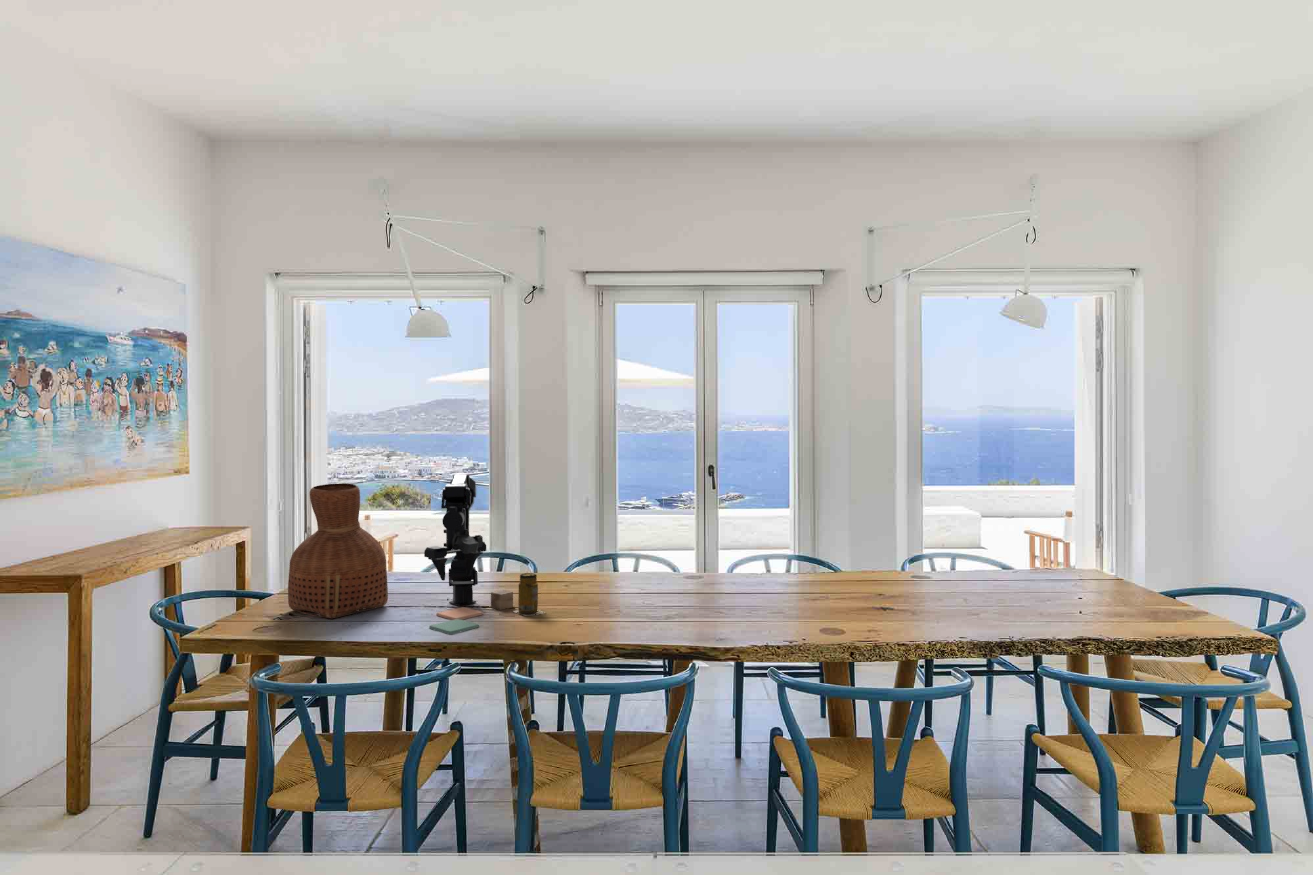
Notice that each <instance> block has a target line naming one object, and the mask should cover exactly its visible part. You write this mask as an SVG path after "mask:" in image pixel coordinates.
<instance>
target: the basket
mask: <svg viewBox="0 0 1313 875" xmlns="http://www.w3.org/2000/svg"><path fill="white" fill-rule="evenodd" d="M360 490H361V489H360V488H359V486H358V485H356V484H353V483H345V482H344V483H343V482H342V483H341V482H340V483H328V484H327V483H326V484H320V485H316V486H313V487H312V488H310V490H309V499H310V500H309V501H310V504H311V508H312V512H313V513H314V515H315V516H314V517H315V520H316V524H317V531H315V532H314V533H312V534H311V535H310V536H308V537H306V539H304V540H303V541H302V542H301V543H300V544H299V545H298V546H297V547H296V548H295V550H294V551H293V553H292V555H291V556H290V560H289V564H288V565H289V570H288V580H287V599H288V600H287V602H288V607H289V608H290V609H291V610H292V611H293V612H297V613H301V614H303V615H308V616H313V617H319V618H324V619H325V618H327V619H335V618H340V617H345V616H348V615H353V614H357V613H362V612H364V611H369V610H372V609H377V608H382V607H384V606H385V605H386V604H388V601H389V600H388V599H389V597H388V596H389V594H388V592H389V589H388V570H387V558H386V553H385V549H384V548H383V546H382V544H381V543H380V542H379V541H378V540H377V539H376V538H375V537H374V536H373V535H372V534H371V533H369V532H368V531H367V530H365V529H363V528H362V527H361V525H360V524H361V523H360V521H359V517H360V516H359V515H360V510H361V509H360V508H361V491H360ZM310 612H311V613H310Z"/></svg>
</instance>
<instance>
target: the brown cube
mask: <svg viewBox="0 0 1313 875" xmlns="http://www.w3.org/2000/svg"><path fill="white" fill-rule="evenodd" d="M513 607H514V592H513V591H512V590H511V591H510V590H507V589H506V590H505V589H500V590H496V591H491V592H490V608H492V609H495V608H496V609H495V610H500V611H502V610H506V609H505V608H507V609H511V608H513Z"/></svg>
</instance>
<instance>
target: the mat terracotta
mask: <svg viewBox="0 0 1313 875" xmlns="http://www.w3.org/2000/svg"><path fill="white" fill-rule="evenodd" d="M435 614H436V616H437V617H440V618H443V619H444V618H445V619H448V620H450V621H451V620H455V619H461V620H465V619H469V618H470V619H471V618H475V617H479V616H482V615H483V616H484V612H483V611H480V610H476V609H473V608H469V607H464V606H460V607H458V608H453V609H452V608H451V609H447V610H444V611H439V612H436V613H435Z"/></svg>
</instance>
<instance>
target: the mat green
mask: <svg viewBox="0 0 1313 875" xmlns="http://www.w3.org/2000/svg"><path fill="white" fill-rule="evenodd" d="M478 628H480V624H479V623H476V622H471V621H468V620H465V619H462V620H461V619H455V620H451V619H450V620H447V621H444V622H439V623H434V624H429V629H431V630H434V629H435V630H434V631H437V632H440V631H441V633H445V634H447V633H448V635H453V633H454V634H457V633H461V632H460V631H462V632H465V631H468V629H470V630H472V629H473V630H474V629H478Z"/></svg>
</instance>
